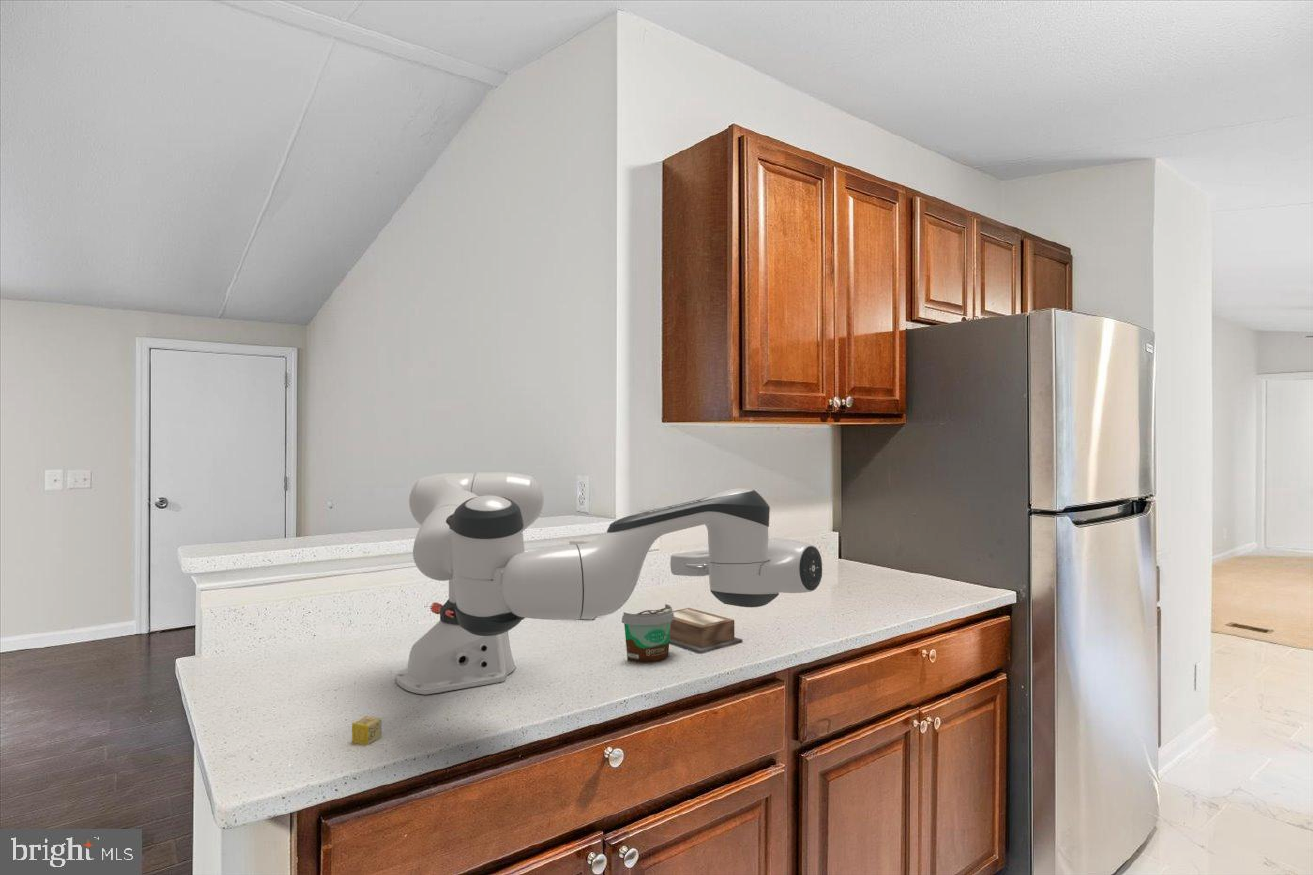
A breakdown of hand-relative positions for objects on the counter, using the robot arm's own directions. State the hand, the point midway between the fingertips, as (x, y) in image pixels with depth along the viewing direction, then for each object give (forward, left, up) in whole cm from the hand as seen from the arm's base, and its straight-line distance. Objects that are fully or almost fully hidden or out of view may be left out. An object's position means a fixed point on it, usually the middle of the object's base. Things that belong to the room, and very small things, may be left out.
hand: (695, 557), depth 141 cm
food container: (+2, +14, -23) cm, 27 cm away
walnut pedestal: (+18, +19, -23) cm, 35 cm away
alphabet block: (-57, +12, -23) cm, 63 cm away
